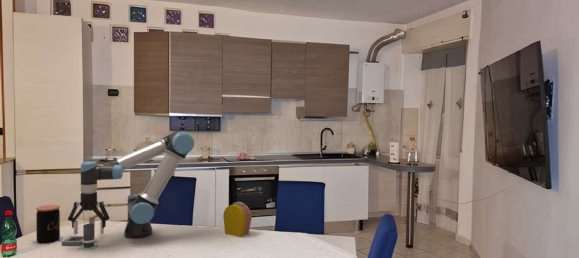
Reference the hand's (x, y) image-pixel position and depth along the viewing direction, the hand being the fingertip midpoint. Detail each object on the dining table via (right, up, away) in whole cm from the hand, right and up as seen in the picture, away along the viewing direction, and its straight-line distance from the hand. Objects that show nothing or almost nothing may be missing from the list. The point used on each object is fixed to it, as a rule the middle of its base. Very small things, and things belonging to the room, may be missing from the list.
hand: (88, 234), depth 200 cm
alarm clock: (+72, -8, +28) cm, 78 cm away
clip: (-3, +4, +13) cm, 14 cm away
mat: (0, -7, 0) cm, 7 cm away
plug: (0, -6, 0) cm, 6 cm away
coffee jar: (-27, -6, +9) cm, 29 cm away
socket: (-8, -6, +7) cm, 12 cm away
